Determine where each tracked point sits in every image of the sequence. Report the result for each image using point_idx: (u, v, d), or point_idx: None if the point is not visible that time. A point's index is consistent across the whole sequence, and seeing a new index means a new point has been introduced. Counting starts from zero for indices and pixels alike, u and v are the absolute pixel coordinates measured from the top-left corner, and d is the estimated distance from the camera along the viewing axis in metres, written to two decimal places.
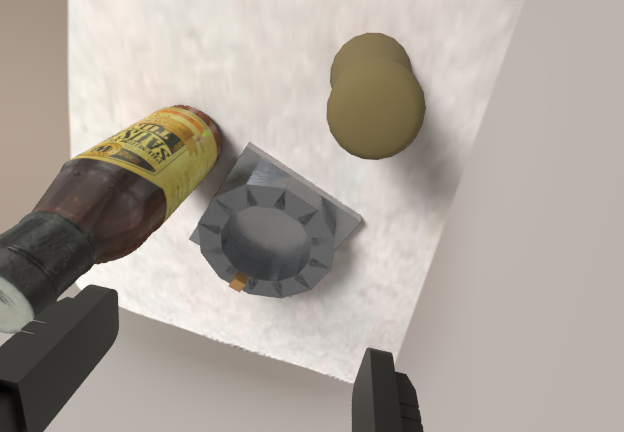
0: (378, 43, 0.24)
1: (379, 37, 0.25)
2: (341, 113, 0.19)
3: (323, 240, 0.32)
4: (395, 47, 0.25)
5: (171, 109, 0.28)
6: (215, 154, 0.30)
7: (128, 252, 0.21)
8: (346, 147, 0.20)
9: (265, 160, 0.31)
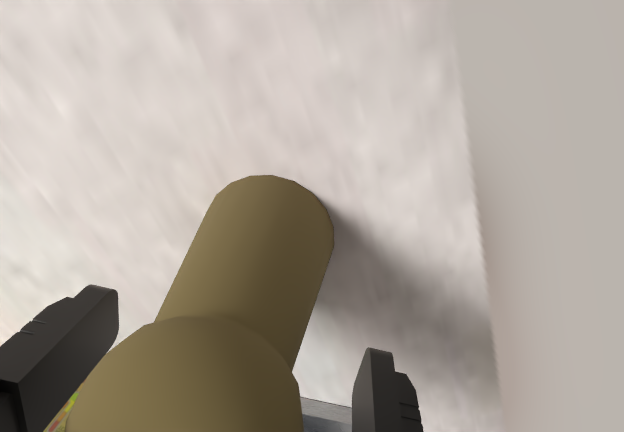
0: (229, 212, 0.13)
1: (241, 190, 0.15)
2: None
3: None
4: (265, 201, 0.14)
5: None
6: None
7: None
8: None
9: None
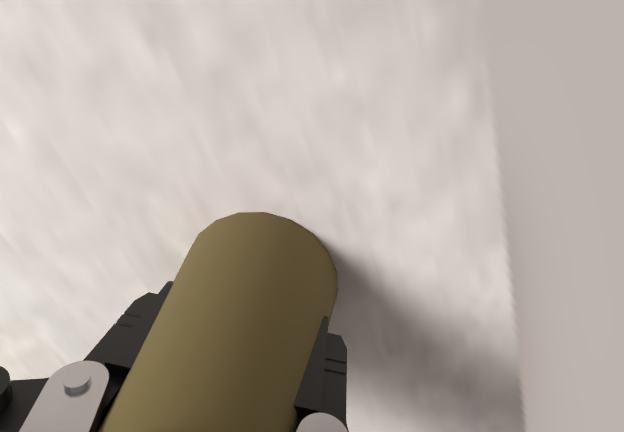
0: (209, 264, 0.11)
1: (226, 232, 0.12)
2: None
3: None
4: (254, 248, 0.11)
5: None
6: None
7: None
8: None
9: None
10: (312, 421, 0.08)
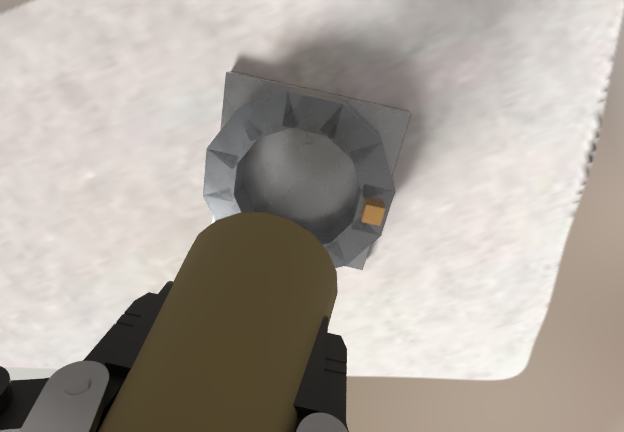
0: (209, 264, 0.11)
1: (226, 232, 0.12)
2: None
3: (246, 123, 0.22)
4: (254, 249, 0.11)
5: None
6: None
7: None
8: None
9: None
10: (312, 421, 0.08)
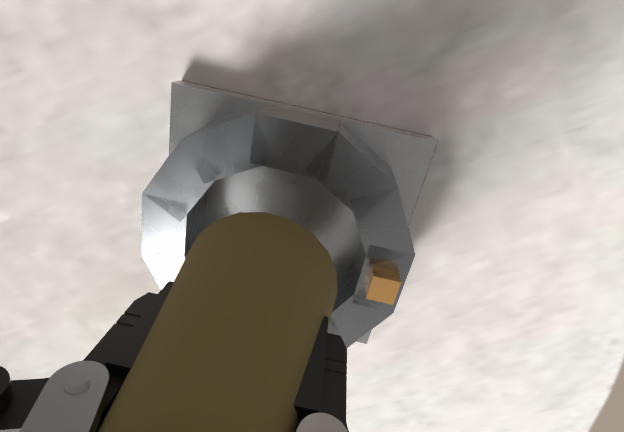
0: (209, 263, 0.11)
1: (226, 232, 0.12)
2: None
3: (196, 159, 0.15)
4: (255, 248, 0.11)
5: None
6: None
7: None
8: None
9: None
10: (312, 421, 0.08)
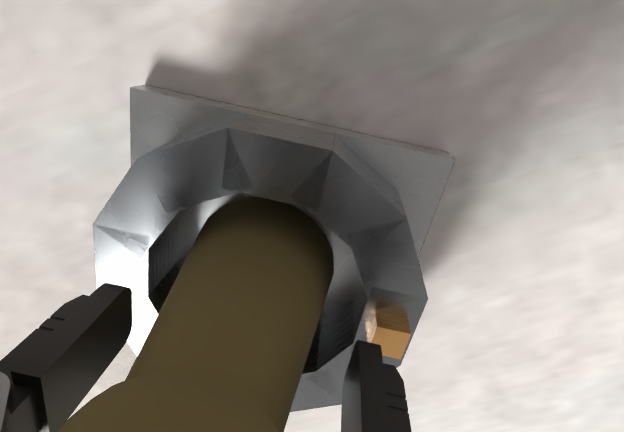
0: (220, 241, 0.12)
1: (234, 214, 0.14)
2: None
3: (156, 183, 0.12)
4: (260, 228, 0.13)
5: None
6: None
7: None
8: None
9: None
10: None
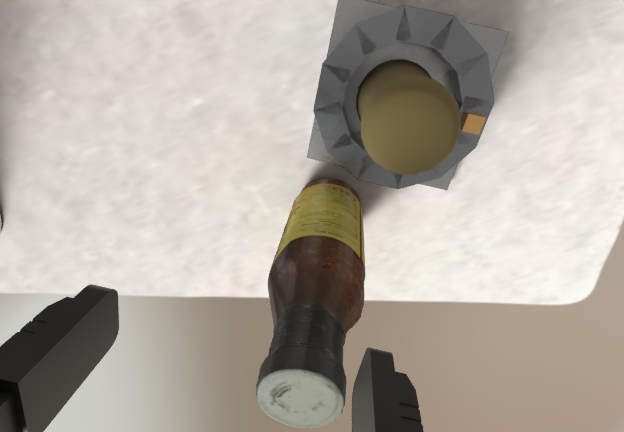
0: (391, 68, 0.25)
1: (390, 63, 0.26)
2: (377, 139, 0.19)
3: (362, 37, 0.24)
4: (408, 65, 0.25)
5: None
6: (318, 185, 0.31)
7: (333, 272, 0.21)
8: (394, 169, 0.20)
9: (312, 135, 0.30)
10: None
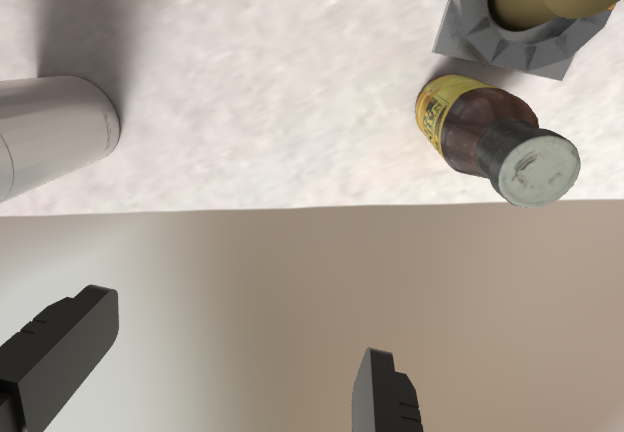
0: None
1: None
2: None
3: None
4: None
5: (417, 121, 0.35)
6: (446, 75, 0.33)
7: (520, 102, 0.23)
8: (578, 7, 0.23)
9: (442, 29, 0.33)
10: None
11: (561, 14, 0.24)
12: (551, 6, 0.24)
